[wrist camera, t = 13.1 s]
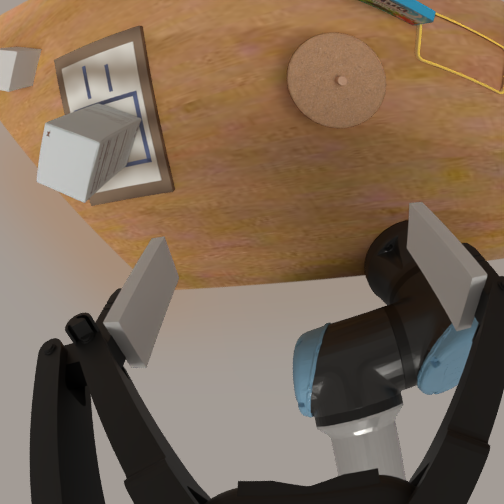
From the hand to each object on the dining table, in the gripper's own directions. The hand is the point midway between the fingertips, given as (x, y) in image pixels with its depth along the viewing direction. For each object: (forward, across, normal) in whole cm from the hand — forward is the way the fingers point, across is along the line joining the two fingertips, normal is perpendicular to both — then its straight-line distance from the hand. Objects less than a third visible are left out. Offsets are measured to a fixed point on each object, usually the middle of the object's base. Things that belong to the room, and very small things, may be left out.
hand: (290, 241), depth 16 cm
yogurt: (+27, -16, -18) cm, 36 cm away
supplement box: (+26, +21, -6) cm, 34 cm away
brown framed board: (+27, +22, -8) cm, 35 cm away
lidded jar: (+27, -7, -7) cm, 29 cm away
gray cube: (+26, +35, -23) cm, 49 cm away
